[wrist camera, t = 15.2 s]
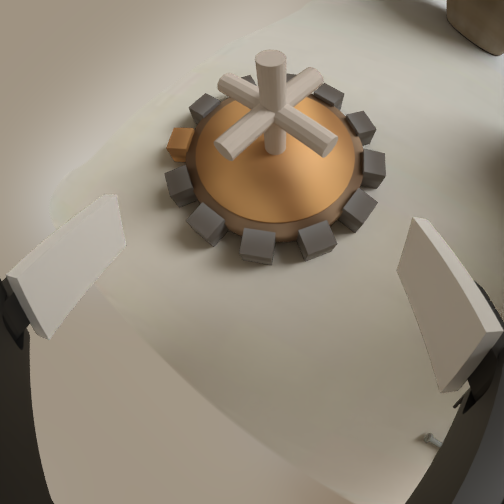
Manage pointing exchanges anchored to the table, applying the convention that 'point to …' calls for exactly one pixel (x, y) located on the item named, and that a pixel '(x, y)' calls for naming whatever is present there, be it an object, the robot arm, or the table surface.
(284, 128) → the pipe connector
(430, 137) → the table surface
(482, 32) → the plant pot
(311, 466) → the table surface
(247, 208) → the sprocket wheel
